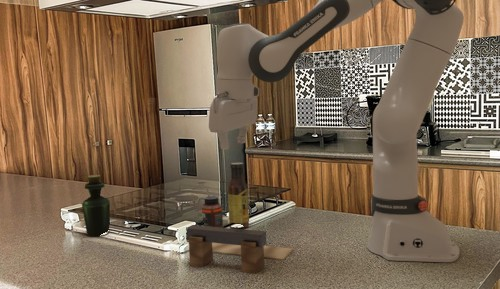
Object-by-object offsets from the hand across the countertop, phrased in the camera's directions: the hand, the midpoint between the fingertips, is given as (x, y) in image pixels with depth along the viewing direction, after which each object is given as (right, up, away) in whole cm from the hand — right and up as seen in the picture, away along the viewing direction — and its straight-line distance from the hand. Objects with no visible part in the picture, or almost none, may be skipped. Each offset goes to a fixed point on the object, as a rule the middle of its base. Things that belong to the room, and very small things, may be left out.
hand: (233, 145), depth 128 cm
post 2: (+5, -29, -6) cm, 30 cm away
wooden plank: (+3, -28, +7) cm, 29 cm away
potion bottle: (-42, -27, +28) cm, 58 cm away
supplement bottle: (-7, -27, +23) cm, 36 cm away
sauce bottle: (+1, -25, +30) cm, 39 cm away
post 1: (-8, -29, -1) cm, 30 cm away
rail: (-2, -23, -4) cm, 24 cm away
